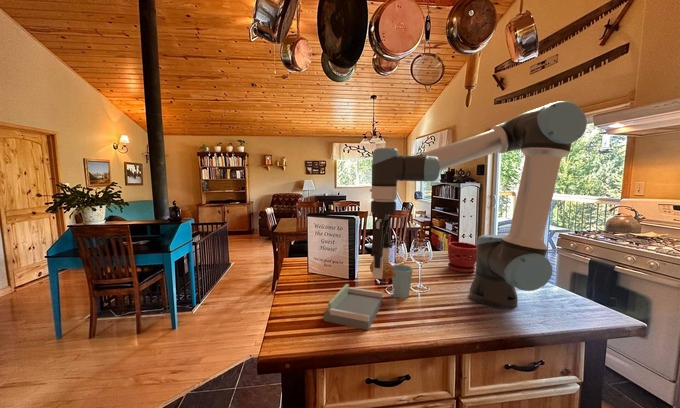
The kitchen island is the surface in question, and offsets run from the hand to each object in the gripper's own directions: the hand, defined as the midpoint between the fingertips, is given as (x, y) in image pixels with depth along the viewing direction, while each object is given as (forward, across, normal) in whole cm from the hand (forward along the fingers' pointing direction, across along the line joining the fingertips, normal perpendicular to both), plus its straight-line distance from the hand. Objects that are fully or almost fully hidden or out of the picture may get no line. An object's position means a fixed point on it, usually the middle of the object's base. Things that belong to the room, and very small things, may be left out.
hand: (381, 272), depth 87 cm
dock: (+14, 0, -8) cm, 17 cm away
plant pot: (+14, -57, +26) cm, 64 cm away
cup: (+14, -18, +4) cm, 23 cm away
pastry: (+1, 0, +1) cm, 1 cm away
